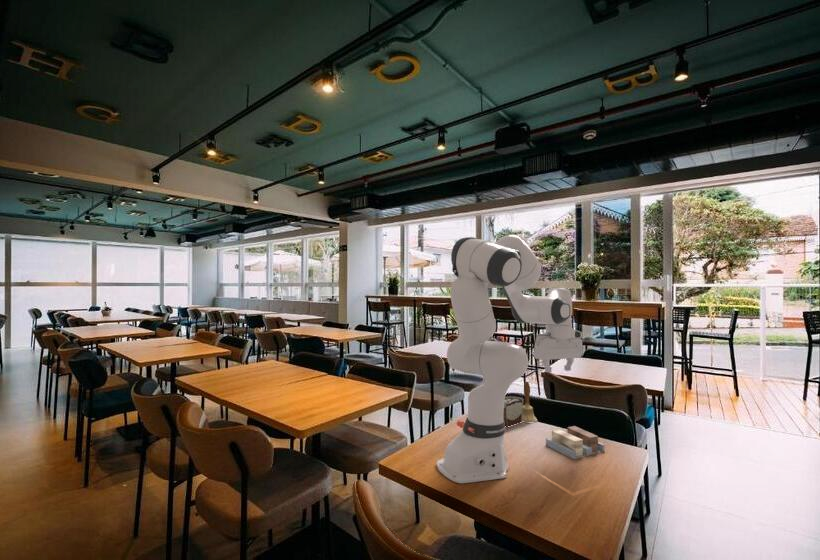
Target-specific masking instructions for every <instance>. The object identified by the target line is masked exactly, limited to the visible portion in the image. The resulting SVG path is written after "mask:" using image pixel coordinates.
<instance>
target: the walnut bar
mask: <svg viewBox="0 0 820 560" xmlns="http://www.w3.org/2000/svg"><path fill="white" fill-rule="evenodd" d="M566 429H567V430H566V431H567V433H569V434H571V435H573V436H576V437H578V438H580V439H582V440H583V444H585V445H587V446H590V447H592V452H596V451H598V442H599V436H598V435H596V434H594V433H592V432H589V431H587V430H585V429H582V428H580V427H579V426H576V425H572V426H568V427H567V428H566Z"/></svg>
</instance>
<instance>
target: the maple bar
mask: <svg viewBox="0 0 820 560" xmlns="http://www.w3.org/2000/svg"><path fill="white" fill-rule="evenodd" d="M551 440H553V441H555V442H557V443H559V444H561V445H563V446H565V447H567V448H569V449H572V450H574V451H576V456H580V455H583V440H582V439H580V438H578V437H576V436H573V435H571V434H569V433H567V432H566V431H564V430H561V429H554V430H551Z"/></svg>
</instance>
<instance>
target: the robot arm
mask: <svg viewBox="0 0 820 560" xmlns="http://www.w3.org/2000/svg"><path fill="white" fill-rule="evenodd" d="M450 255H451V256H450V257H451V265H452V268H451V269H452V272H453V274H454V275H455V276H456V278H455V279H454V280H453V282H452V283H451V286H450V289H449V291H450V302H451V307H452V311H453V315H454V318H455V321H456V326H457V330H458V337H457V338H455V340H454V339H453V341H452V342H451V343H450V344H449V346H448V348H447V351H446V361H447V363H448V364H449V366H450V368H451V369H453V370H456V371H459V372H461V373H464V374H470V375H478V376H483V375H484V376H485V377H486V381H485V384H483V385H481V384H480V385H478V386H476V387H474V388H472V389H471V390H470V392H469V393H468V396H467V417H466V418H465V421H463V420H461V419H458V420H457V421H456V426H458V427H459V428H461V429H462V431H460V433H459V434H457V436H455V438H454V439H452V440H451V441H450V442H449V443H448V444H447V445H446V447H445V449H444V450H445V451H444V454H443V455H444V456H443V458H441V459H438V460H436V468H437V470H438V472H440V473H441V474H442V475H443V476H444V477H446V478H447V479H449V480H451V481H452V482H455V483H458V484H469V483H476V482H483V481H493V480H498V479H499V480H501V479H505V478H507V471H508V470H509V464H508V463H509V462H508V460H507V455H506V449H505V436H504V435H505V433H506V427H505V421H504V420H503V413H504V400H505V397H506V395H507V392H508V390H509V388H510V386H512V384H513V383H514V382H515V381H517V380H518V379H520V378H521V377H522V376H523V375H524V374H525V373H526V371H527V370H528V365H529V358H528V354H527V352H526V350H525V349H524V347H523V346H521V345H518V344H514V343H511V342H507V341H496V340H495V341H494V340H489V339H491V338H492V336H493V335H494V334H495V332H496V329H497V323H496V319H495V315H494V311H493V306H492V303H491V300H490V297H489V293H488V288H489V286H488V285H489V284H491V285H492V286H496V287H501V288H502V290H503V292H504V295H505V297H506V299H507V302H508V303H509V306H510V308H511V314H512V316H513V317H514V318H513V319H515V320H516V322H517V323H520V324H539V325H545V332H540V333H539V334H537V336H536V337H535V342H534V349H533V356H534V359H535V360H539V361H541V363H542V364H543V367H544V373H552V371H553V370H552V369H553V368H552V367H551V366H550V360H565V359H566V364H565V365H564V366H563V370H564V371H565V372H566V371H567V372H570V371H572V366H573V363H574V359H581V357H582V356H583V340H582V338H583V332H582V331H579V330H577V329H575V328H573V322H572V316H573V300H572V293H571V291H570V289H568V288H565V287H560V286H556V287H553V286H552V287H550V288H548V290H547V295H544V296H543V295H541V296H540V295H539V296H538V295H537V296H536V295H527V294H523V292H524V291H526V290H527V291H528V290H529V289H531V288H533V287H534V286H535V285H536V284H537V283H538V281H539V280H540V278H541V275H542V267H541V263H540V262H539V260H538V258H537V257H536V254H535V253H534V251H533V250H532V249H531V247H530V246H529V245H528V244H527V242H525V241H524V240H523V239H522V238H521V237H520V236H518V235H516V234H508V235H504V236H501V237H500V238H499V239H498V240H497V241H496V242H495V243H494V242H492V241H490V240H487V239H486V240H485V239H480V238H476V237H472V236H471V237H467V236H466V237H462V238H459V239H458V240H457V241H456V242H455V243H454V244H453V246H452V249H451V254H450Z"/></svg>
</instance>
